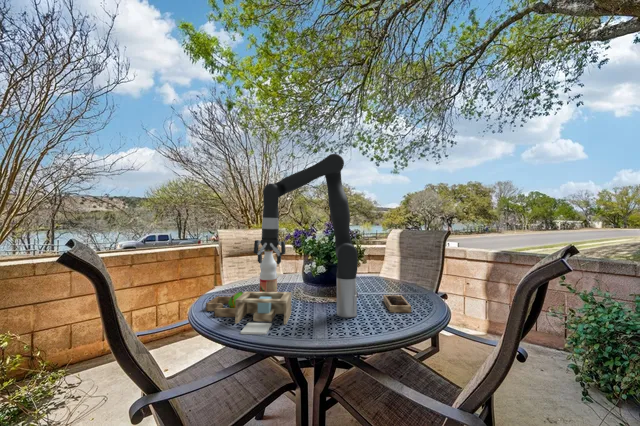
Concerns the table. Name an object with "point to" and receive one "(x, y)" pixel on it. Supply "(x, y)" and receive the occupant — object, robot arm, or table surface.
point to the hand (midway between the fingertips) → (269, 263)
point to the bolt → (396, 301)
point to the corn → (232, 301)
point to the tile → (256, 328)
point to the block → (264, 306)
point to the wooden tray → (397, 307)
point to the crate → (251, 300)
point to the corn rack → (221, 306)
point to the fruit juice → (268, 273)
